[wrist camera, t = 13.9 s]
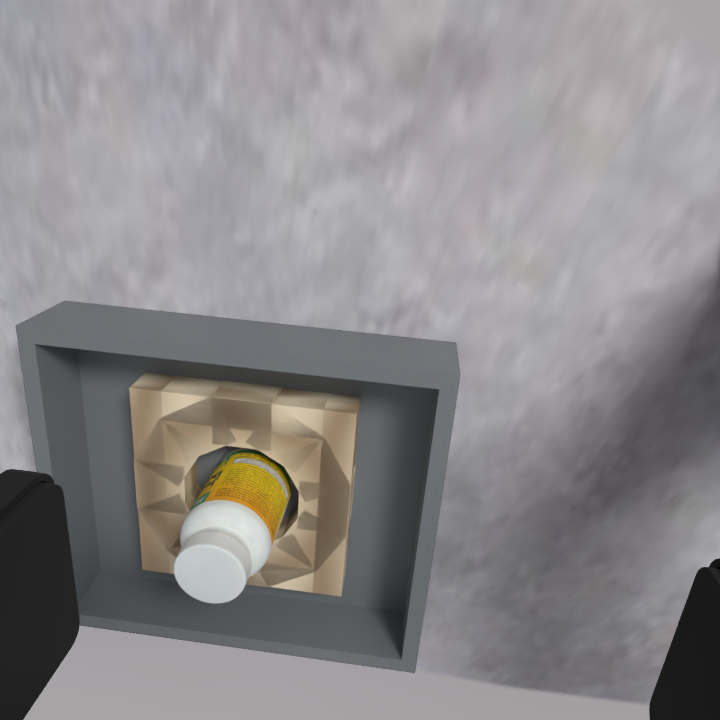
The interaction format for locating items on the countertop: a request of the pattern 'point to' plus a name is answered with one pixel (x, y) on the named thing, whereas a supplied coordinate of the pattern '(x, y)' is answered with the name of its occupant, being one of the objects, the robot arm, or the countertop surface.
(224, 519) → the supplement bottle
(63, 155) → the countertop surface
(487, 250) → the countertop surface
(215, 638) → the open box
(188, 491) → the bore plate
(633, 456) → the countertop surface
